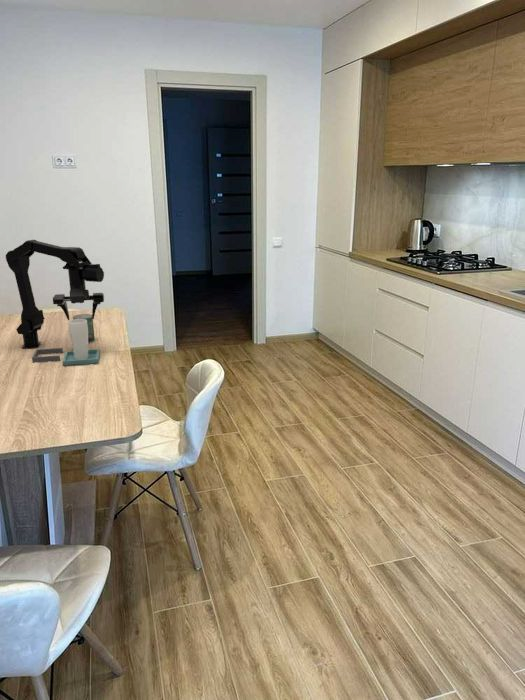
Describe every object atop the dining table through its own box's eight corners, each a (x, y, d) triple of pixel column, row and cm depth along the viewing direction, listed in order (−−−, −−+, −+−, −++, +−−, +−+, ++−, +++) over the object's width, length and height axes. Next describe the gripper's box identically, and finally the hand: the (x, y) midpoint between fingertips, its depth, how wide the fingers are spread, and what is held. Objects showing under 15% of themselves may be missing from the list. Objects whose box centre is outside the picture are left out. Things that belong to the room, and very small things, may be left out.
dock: (36, 354, 205) (36, 349, 204) (63, 352, 207) (62, 347, 206) (32, 362, 195) (31, 357, 194) (60, 360, 197) (59, 355, 197)
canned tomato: (97, 338, 226) (95, 314, 222) (90, 344, 218) (87, 318, 215) (80, 338, 227) (77, 313, 223) (72, 343, 219) (69, 318, 216)
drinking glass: (85, 362, 195) (81, 323, 190) (68, 360, 196) (64, 322, 191) (94, 356, 201) (90, 319, 196) (78, 355, 202) (74, 318, 198)
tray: (66, 356, 203) (65, 351, 202) (99, 353, 206) (99, 349, 205) (62, 366, 191) (62, 361, 191) (98, 364, 194) (97, 359, 194)
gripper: (48, 285, 191) (53, 326, 196) (101, 283, 196) (104, 323, 200) (52, 280, 201) (57, 319, 206) (102, 278, 206) (105, 316, 211)
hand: (81, 319), depth 206 cm, fingers open, 9 cm apart
